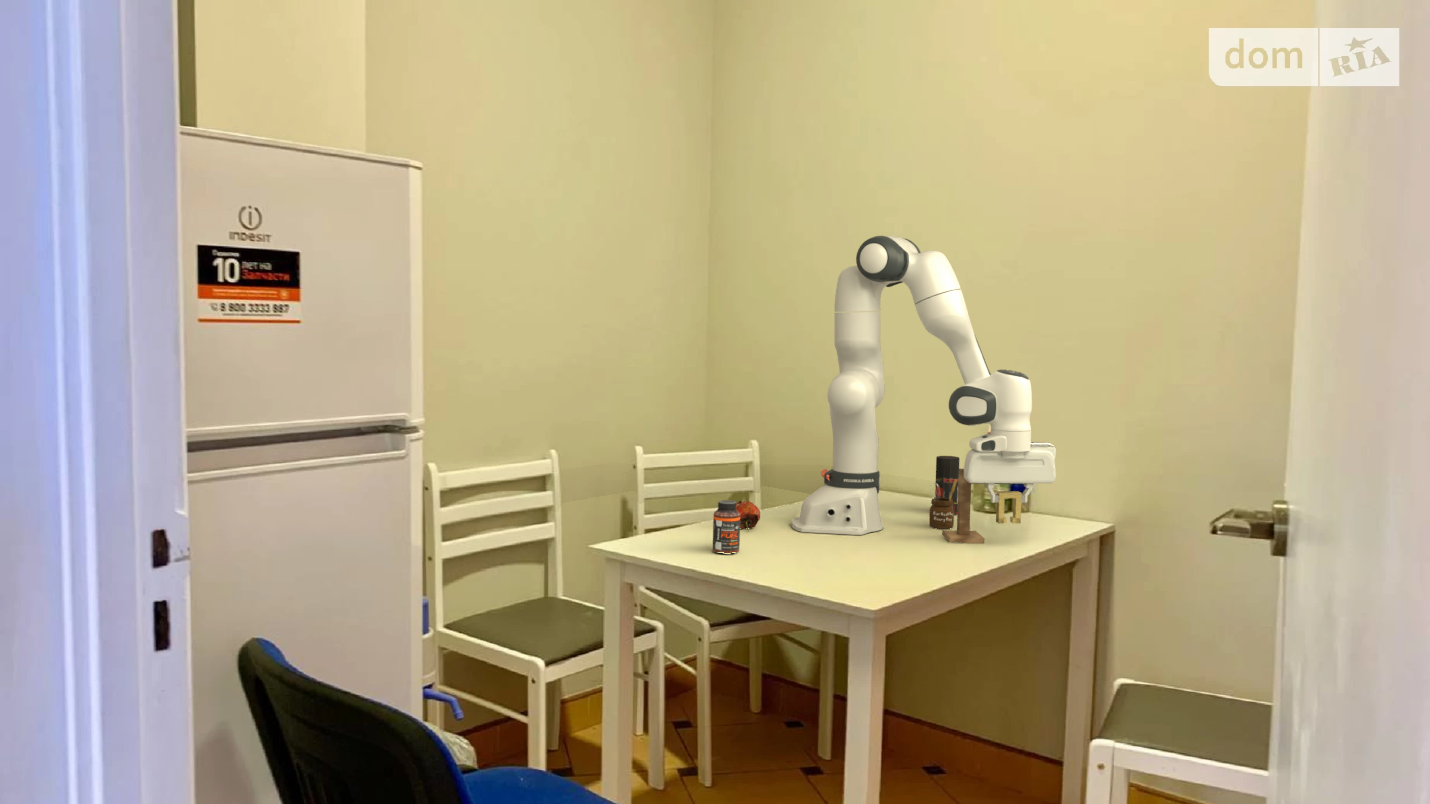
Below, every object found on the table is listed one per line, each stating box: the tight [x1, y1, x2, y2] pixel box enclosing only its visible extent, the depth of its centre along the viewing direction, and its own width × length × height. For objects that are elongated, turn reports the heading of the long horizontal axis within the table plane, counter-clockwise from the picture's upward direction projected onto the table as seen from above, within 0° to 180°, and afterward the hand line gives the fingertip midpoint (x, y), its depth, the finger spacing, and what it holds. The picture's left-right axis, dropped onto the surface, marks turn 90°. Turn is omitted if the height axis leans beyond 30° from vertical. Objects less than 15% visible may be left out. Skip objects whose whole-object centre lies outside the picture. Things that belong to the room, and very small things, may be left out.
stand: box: [941, 468, 1012, 544], centre depth 240 cm, size 15×8×17 cm, turn 90°
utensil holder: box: [928, 479, 957, 530], centre depth 253 cm, size 6×6×12 cm
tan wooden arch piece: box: [995, 490, 1022, 524], centre depth 233 cm, size 2×5×7 cm, turn 90°
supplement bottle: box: [712, 499, 741, 553], centre depth 225 cm, size 6×6×11 cm
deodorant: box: [934, 455, 960, 516], centre depth 270 cm, size 6×6×15 cm
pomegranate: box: [736, 500, 761, 533], centre depth 248 cm, size 7×7×10 cm
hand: (1008, 502), depth 233 cm, fingers closed on tan wooden arch piece, 5 cm apart
